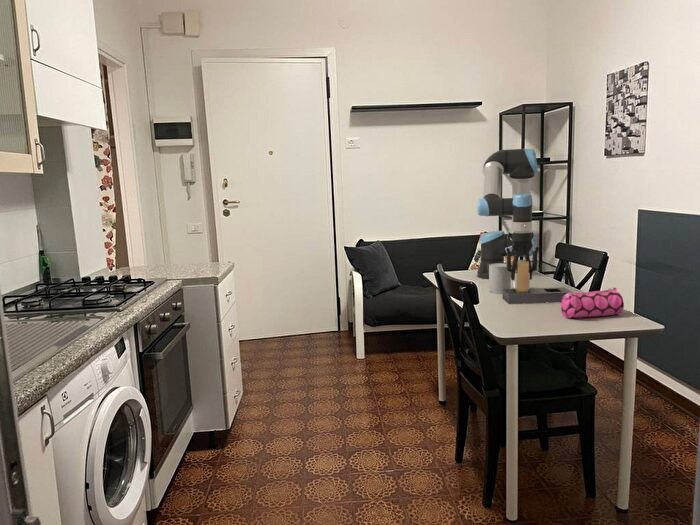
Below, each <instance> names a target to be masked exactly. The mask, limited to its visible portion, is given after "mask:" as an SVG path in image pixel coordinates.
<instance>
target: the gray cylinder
mask: <svg viewBox="0 0 700 525" xmlns="http://www.w3.org/2000/svg"><path fill="white" fill-rule="evenodd" d="M511 281H512V280H511V272H509V271H507V263H505V262H504V263H495V264H490V265H489V279H488V292H489V293H490V294H493V293H494V295H495V294H496V295H503V289H512V288H511V283H512V282H511Z"/></svg>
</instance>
